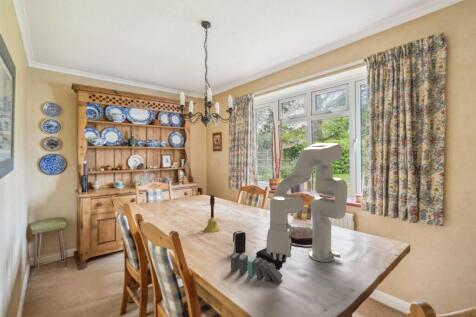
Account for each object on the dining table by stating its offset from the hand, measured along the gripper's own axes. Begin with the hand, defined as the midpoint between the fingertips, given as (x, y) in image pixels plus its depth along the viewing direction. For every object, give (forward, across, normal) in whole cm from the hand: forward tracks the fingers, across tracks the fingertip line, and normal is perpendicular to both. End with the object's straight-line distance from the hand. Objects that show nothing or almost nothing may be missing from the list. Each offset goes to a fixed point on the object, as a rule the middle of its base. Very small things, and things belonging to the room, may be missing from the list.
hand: (278, 268), depth 100 cm
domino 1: (+6, +21, 0) cm, 22 cm away
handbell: (+6, +62, -44) cm, 77 cm away
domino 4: (+5, +8, 0) cm, 9 cm away
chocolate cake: (+6, +2, -55) cm, 55 cm away
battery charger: (+6, +28, -19) cm, 35 cm away
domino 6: (+5, 0, 0) cm, 5 cm away
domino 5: (+5, +4, 0) cm, 6 cm away
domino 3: (+6, +12, 0) cm, 13 cm away
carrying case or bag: (+6, +10, -20) cm, 23 cm away
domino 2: (+6, +17, 0) cm, 18 cm away
